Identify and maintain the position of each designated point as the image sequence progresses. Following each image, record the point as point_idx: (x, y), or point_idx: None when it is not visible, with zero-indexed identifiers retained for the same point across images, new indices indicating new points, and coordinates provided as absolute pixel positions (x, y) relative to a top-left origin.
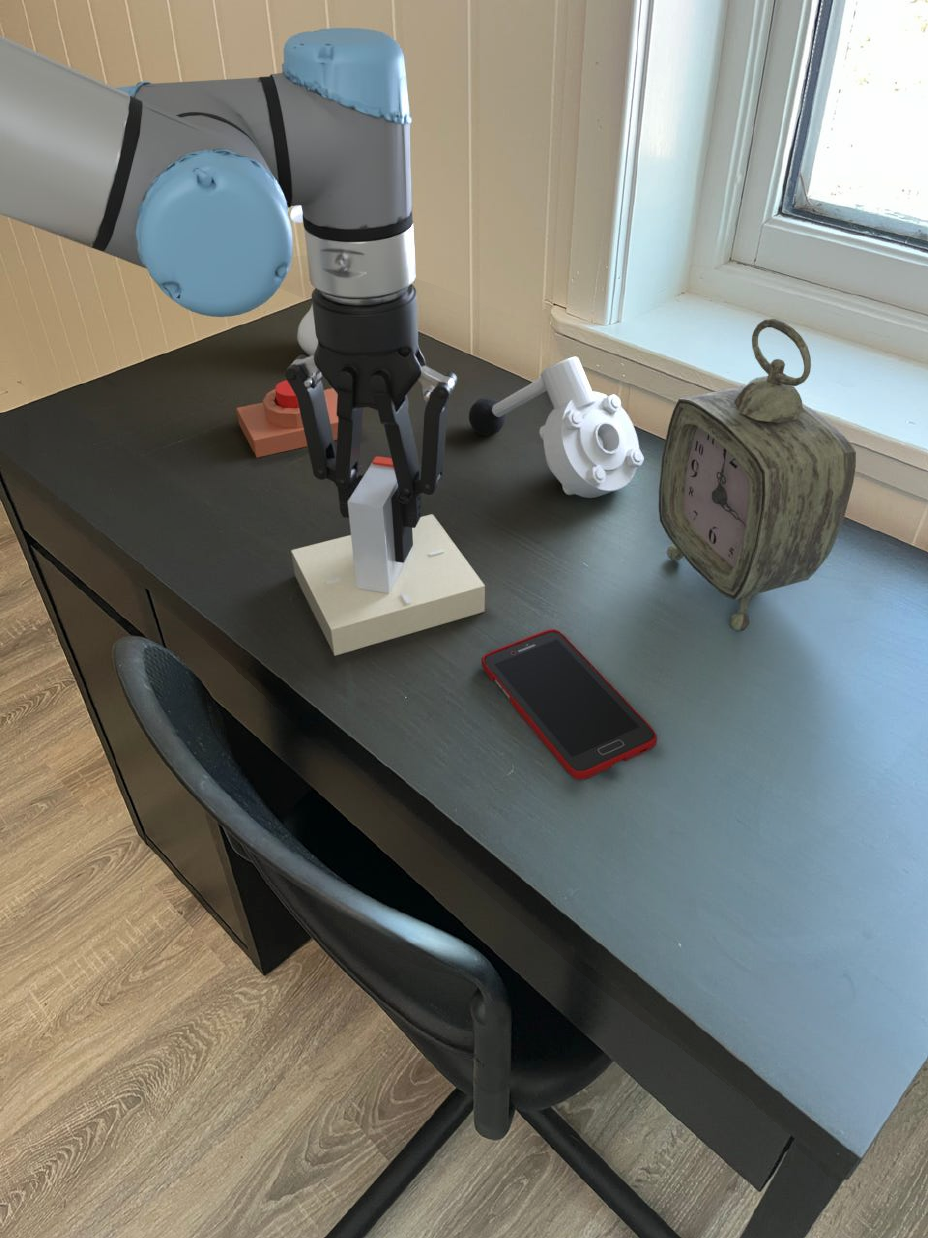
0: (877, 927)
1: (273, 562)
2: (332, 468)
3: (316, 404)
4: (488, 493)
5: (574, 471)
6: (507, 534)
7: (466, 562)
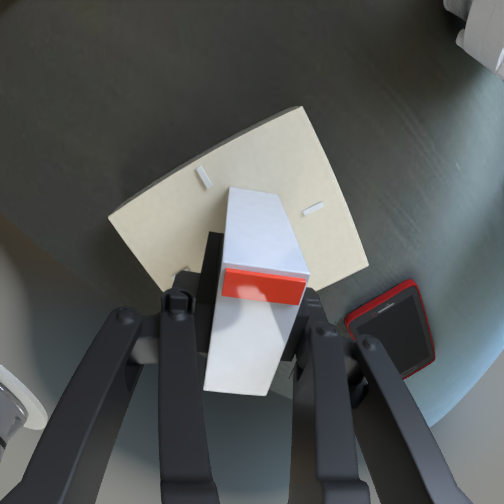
0: (455, 397)
1: (90, 180)
2: (149, 362)
3: (91, 490)
4: (361, 6)
5: (493, 66)
6: (390, 99)
7: (352, 224)
